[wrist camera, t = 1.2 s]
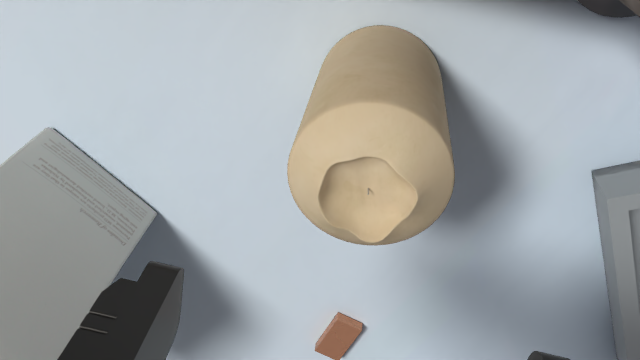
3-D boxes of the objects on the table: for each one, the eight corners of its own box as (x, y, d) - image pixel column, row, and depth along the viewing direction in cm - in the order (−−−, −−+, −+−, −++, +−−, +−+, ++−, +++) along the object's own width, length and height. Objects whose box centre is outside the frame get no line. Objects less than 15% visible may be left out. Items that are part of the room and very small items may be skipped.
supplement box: (49, 120, 30) (-153, 284, 19) (162, 212, 32) (38, 406, 21) (-16, 199, 33) (-219, 377, 22) (91, 278, 35) (-49, 475, 24)
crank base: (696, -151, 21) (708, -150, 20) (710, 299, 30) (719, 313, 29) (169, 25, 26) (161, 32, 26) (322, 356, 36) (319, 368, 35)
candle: (438, 16, 25) (455, 114, 16) (443, 133, 27) (460, 270, 19) (311, 30, 26) (264, 128, 17) (328, 141, 28) (294, 274, 20)
